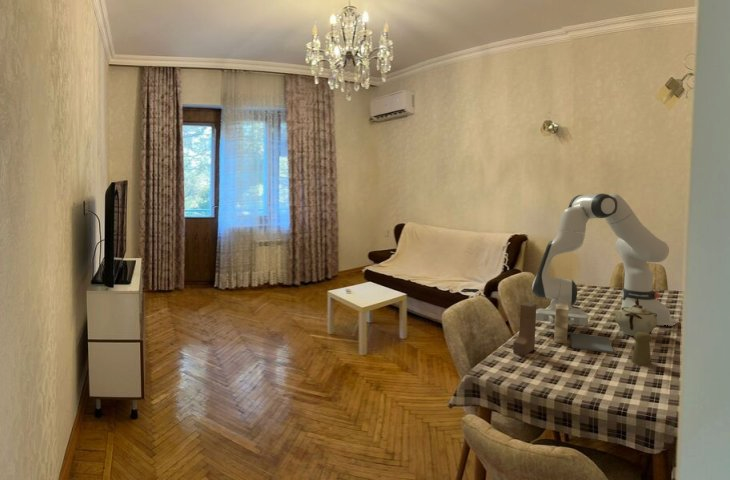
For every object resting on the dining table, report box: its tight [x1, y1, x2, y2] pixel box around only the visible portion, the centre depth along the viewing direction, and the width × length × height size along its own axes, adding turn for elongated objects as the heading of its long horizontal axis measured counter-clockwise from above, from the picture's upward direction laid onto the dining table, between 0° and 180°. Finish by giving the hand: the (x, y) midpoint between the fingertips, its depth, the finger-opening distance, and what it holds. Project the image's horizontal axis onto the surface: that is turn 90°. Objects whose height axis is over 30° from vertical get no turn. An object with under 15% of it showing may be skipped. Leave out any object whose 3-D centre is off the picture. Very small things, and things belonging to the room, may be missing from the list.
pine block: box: [553, 304, 569, 345], centre depth 173 cm, size 4×7×14 cm, turn 157°
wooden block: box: [512, 302, 537, 357], centre depth 162 cm, size 9×4×18 cm, turn 134°
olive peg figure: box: [630, 332, 653, 367], centre depth 151 cm, size 6×6×11 cm
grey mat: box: [569, 332, 614, 354], centre depth 170 cm, size 14×16×1 cm
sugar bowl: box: [614, 299, 658, 337], centre depth 180 cm, size 20×15×15 cm
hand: (561, 322), depth 173 cm, fingers closed on pine block, 4 cm apart
